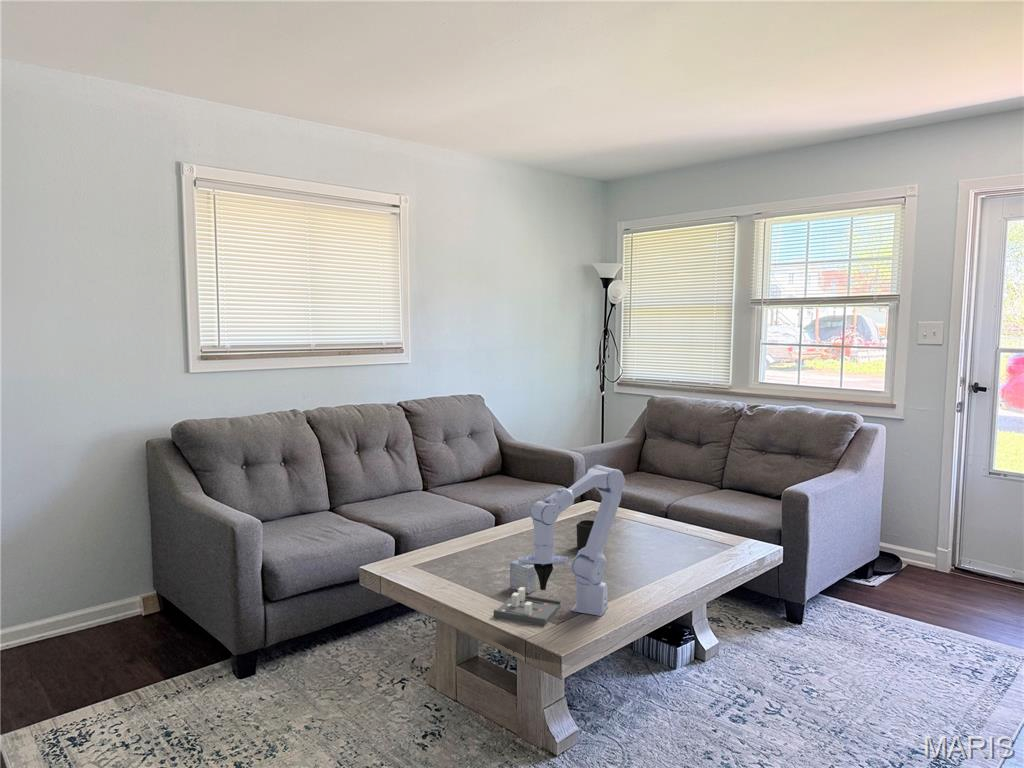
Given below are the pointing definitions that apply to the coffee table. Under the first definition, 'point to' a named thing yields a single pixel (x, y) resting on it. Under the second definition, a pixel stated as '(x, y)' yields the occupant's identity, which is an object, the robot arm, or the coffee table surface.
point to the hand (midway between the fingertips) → (542, 588)
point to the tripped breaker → (528, 608)
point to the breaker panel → (540, 610)
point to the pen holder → (583, 532)
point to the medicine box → (522, 577)
